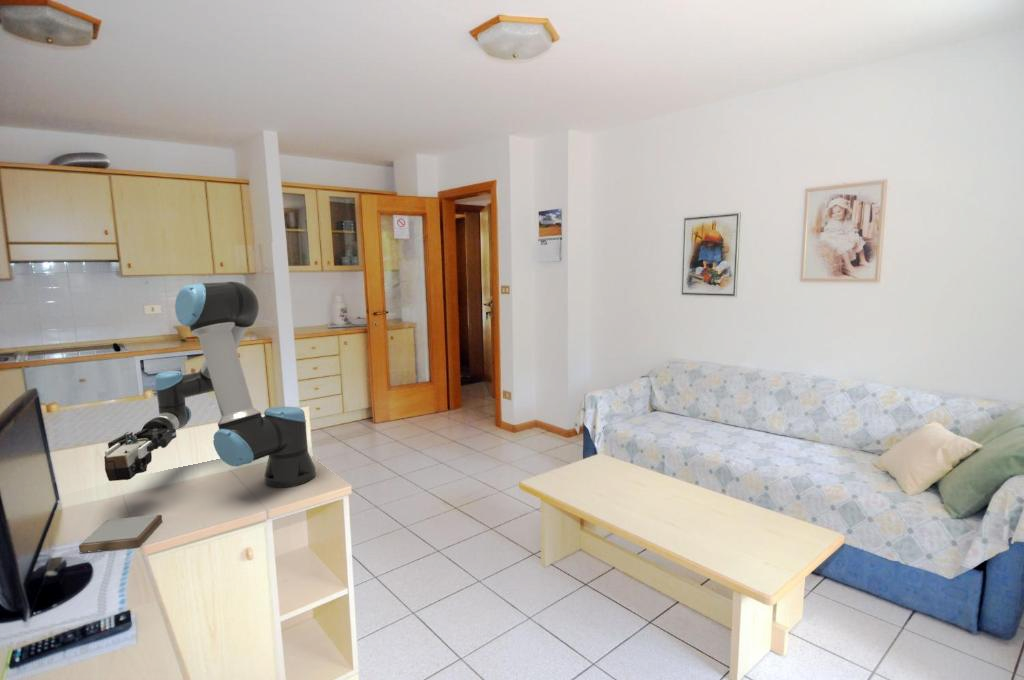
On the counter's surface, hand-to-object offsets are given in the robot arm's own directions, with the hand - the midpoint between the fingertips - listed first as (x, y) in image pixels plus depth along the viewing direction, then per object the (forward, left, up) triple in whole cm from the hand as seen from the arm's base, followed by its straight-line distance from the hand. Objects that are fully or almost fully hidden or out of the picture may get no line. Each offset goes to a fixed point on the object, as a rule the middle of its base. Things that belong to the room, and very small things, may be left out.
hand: (123, 454), depth 146 cm
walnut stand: (-3, +12, -18) cm, 22 cm away
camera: (0, -4, -6) cm, 7 cm away
